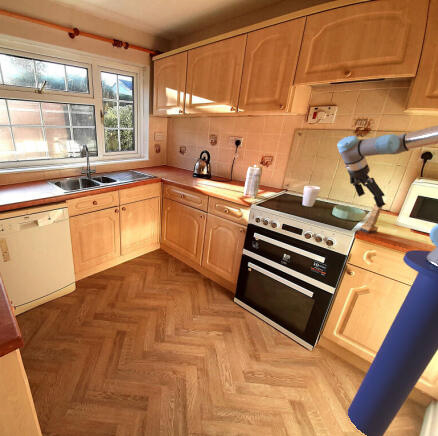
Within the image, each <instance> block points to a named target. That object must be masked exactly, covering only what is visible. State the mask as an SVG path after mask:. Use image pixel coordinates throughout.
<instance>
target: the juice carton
mask: <svg viewBox="0 0 438 436" xmlns="http://www.w3.org/2000/svg"><path fill="white" fill-rule="evenodd" d="M262 174H263V166H259V165H258V164H254V165H250V166H249V167H248V170H247V172H246V177H245V178H246V179H245V183H244V189H243V196H244V197H245V198H250V199H255V198H256V197H257V196H258V193H259V189H260V185H261V179H262Z"/></svg>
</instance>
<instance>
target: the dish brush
mask: <svg viewBox="0 0 438 436" xmlns="http://www.w3.org/2000/svg"><path fill="white" fill-rule="evenodd" d="M382 209H383V206H381V207H379V208H378V207H377V205H376V203H374V204H373V207H372V209H371V212H370V215H369V217H368V220H367V222H366V224H361V227H360V229H359V231H360V232H364V233H366V234H373V233H377V232H378V230H379V227H378V226H377V225H376V223H377V221H378V220H379V219H378V218H379V216H380V214H381V211H382Z"/></svg>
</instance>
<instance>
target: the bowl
mask: <svg viewBox="0 0 438 436" xmlns="http://www.w3.org/2000/svg"><path fill="white" fill-rule="evenodd" d="M331 214H332V215H333V216H335V217H336V218H339V219H342V220H345V221H349V222H351V221H352V222H360V221H364V219H365V216H366V214H367V211H365V209H361V208H358V207H356V206H350V205H342V204H341V205H340V204H339V205H338V204H337V205H334V206H333V209H332V212H331Z"/></svg>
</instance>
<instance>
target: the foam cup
mask: <svg viewBox="0 0 438 436" xmlns="http://www.w3.org/2000/svg"><path fill="white" fill-rule="evenodd" d="M321 190H322V188H321V187H320V186H316V185H304V186H303V194H302V204H301V205H302V206H305V207H309V208H310V207H311V208H312V207H313V206H314V205H315V202H316V200H317V198H318V196H319V193H320V192H321Z"/></svg>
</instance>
